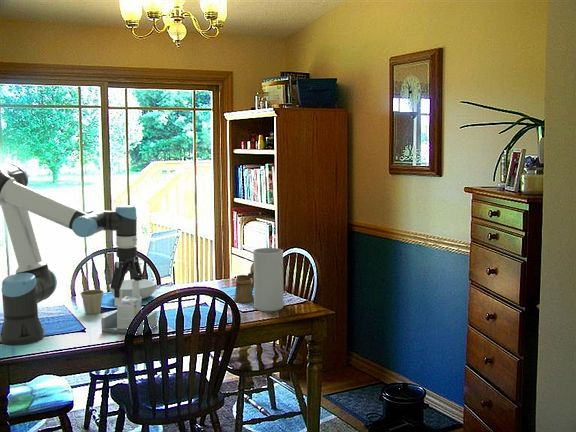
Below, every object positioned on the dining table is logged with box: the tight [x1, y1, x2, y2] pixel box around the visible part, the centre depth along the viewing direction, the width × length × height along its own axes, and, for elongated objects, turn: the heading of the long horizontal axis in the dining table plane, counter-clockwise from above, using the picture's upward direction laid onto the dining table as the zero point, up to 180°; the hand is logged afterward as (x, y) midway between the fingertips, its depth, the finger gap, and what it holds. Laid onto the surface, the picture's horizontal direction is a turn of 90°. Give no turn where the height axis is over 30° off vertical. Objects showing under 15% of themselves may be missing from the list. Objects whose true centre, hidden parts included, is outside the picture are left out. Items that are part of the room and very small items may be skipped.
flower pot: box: [79, 289, 105, 315], centre depth 279 cm, size 9×9×9 cm
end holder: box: [100, 309, 158, 336], centre depth 255 cm, size 13×16×6 cm
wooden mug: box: [233, 261, 254, 304], centre depth 297 cm, size 9×14×18 cm, turn 125°
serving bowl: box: [108, 278, 157, 300], centre depth 302 cm, size 21×21×7 cm
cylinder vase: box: [252, 247, 284, 313], centre depth 283 cm, size 12×12×25 cm
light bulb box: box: [116, 296, 143, 329], centre depth 255 cm, size 11×7×11 cm, turn 177°
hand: (127, 301), depth 254 cm, fingers open, 13 cm apart
